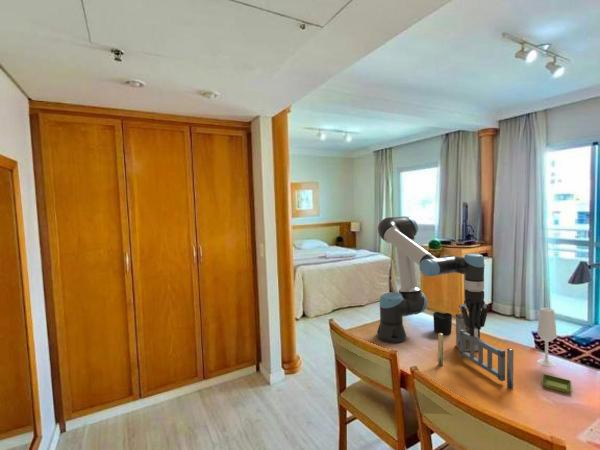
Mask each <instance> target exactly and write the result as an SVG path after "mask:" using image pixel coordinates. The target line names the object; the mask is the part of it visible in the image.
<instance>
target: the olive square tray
mask: <svg viewBox="0 0 600 450" xmlns="http://www.w3.org/2000/svg"><path fill="white" fill-rule="evenodd" d="M541 379H542V380H541V383H542V385H543V387H545V388H547V389H551V390H556V391H559V392H561V393H562V392H563V393H565V394H567V393H570V392H571V391H572V381H571V380H570V379H567V378H566V379H565V378H563V377H562V378H561V377H557V376H554V375H549V374H545V373H543V374H542V378H541Z"/></svg>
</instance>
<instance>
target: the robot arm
mask: <svg viewBox="0 0 600 450" xmlns="http://www.w3.org/2000/svg"><path fill="white" fill-rule="evenodd" d="M418 226H419V225H418V223H417V221H416V220H415V219H414V218H413V217H410V216H394V217H393V216H392V217H391V216H389V217H386V218H384V219H382V220H381V221H380V222H379V223H378V226H377V233H378V235H379V237H380V238H381V239H382V240H383V241H384V242H386V243H387V244H391V245H392V246H394V247H395V249H396V253H397V254H396V255H397V262H398V269H399V270H398V272H399V278H400V279H399V280H400V288H399V289H398V292H396V291H393V292H391V291H389V292H385V293H383V294H381V295H380V297H379V326H378V328H377V331H376V338H377V339H378V340H380V341H382V342H384V343H387V344H388V343H389V344H399V343H403V342H406V341H407V332H406V330H405V327H404V323H403V321H404V320H403V318H404V317H408V316H413V315H418V314H421V313H423V312H425V310H426V309H427V306H428V300H427V299H428V298H427V296H426V295H425V293H423V292H422V289H421V288H420V287H419V286H418V280H417V273H416V272H417V271H416V265H418V266H419V268H418V269H419V271H420V272H421V275H423V276H426V277H436V276H440V275H446V274H448V275H449V274H454V273H455V274H462V275H464V298H465V299H464V302H463V304H460V305H458V307H459V309H460V310H461V311H460V312H461V314H462V315H463V319H464V323H465V326H467V327H468V328H470V335H471V336H475V337H477V338H478V335H479V334H480V333H481V329H482V328H484V327H485V325H486V320H487V316H488V311H489V310H490V307H491V305H489V304H488V303H486V302H485V291H484V290H485V266H486V265H485V258H484V255H482V254H479V253H467V254H465V255H464V256H459V255H455V254H451V255H449V254H444V256H442V257H436V256H435V255H433V254H431V253H430V252H428V251H427V250H426V249H425V248H423V247H422V246H420V245H419V244H418V243H416V242H415V239H416V238H415V237H416V235H417V233H418V232H419V227H418ZM467 310H468V311H467ZM468 314H469V318H468ZM480 335H481V334H480ZM474 344H475V343H474Z"/></svg>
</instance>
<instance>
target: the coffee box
mask: <svg viewBox="0 0 600 450" xmlns="http://www.w3.org/2000/svg"><path fill="white" fill-rule="evenodd" d="M467 314H468V318H469V313H467ZM460 330H465V331H466V332H467V333H469V334H470V328H468V327H467V326H465V323H464V319H463V315H462V313H457V314H455V336H456V337H455V345H456V347H457V348H458V349H459V350H460ZM478 338H479V339H481V334H479V335H478ZM477 351H478V345H477V344H474V352H477ZM466 352H470V341H469V340H468V339H466Z"/></svg>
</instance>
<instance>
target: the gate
mask: <svg viewBox="0 0 600 450" xmlns="http://www.w3.org/2000/svg"><path fill="white" fill-rule="evenodd" d="M466 339H468V340H469V341H470V351H469V352H468V351H466ZM474 343H475V344H477V345H478V356H477V357H478V358H477V357H475V351H474ZM484 350H486V352H487V353H486V354H487V356H486V357H487V360H486V361H487V362H486V363H485V362H484ZM493 354H494V355H496V356H497V369H496V368H494V367H493ZM459 357H461V358H465V359H467V360H469V361H470V362H472V363H473V364H476V365H477V367H478V366H479V367H480V368H482V369H483V370H485V371H486V372H488V373H490V374H491V375H493V376H495V377H496V378H497V379H498V381H500V382H504V381H506V350H505V349H502V348H498V347H497V346H494V345H492V344H491V343H489V342H486V341H484V340H483V339H481V338H480V339H479V338H477V337H475V336H471V335H470V334H469V333H467V332H466V331H465V330H460V349H459Z"/></svg>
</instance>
